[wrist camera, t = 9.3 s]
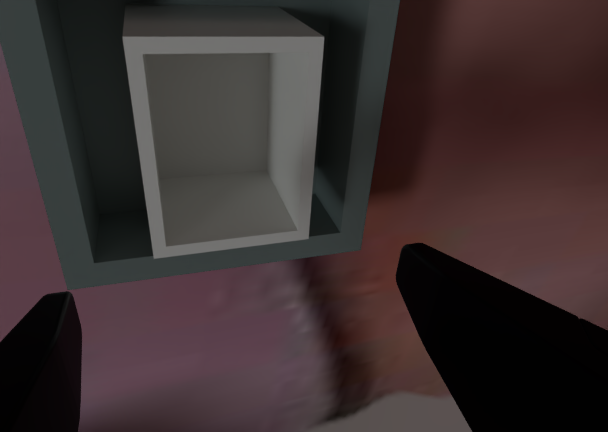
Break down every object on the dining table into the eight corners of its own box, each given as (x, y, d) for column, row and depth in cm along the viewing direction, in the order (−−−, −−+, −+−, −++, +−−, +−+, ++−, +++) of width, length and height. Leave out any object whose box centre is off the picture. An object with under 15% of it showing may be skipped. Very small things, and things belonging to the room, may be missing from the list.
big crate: (327, 201, 22) (360, 249, 19) (78, 227, 19) (67, 290, 16) (355, -65, 16) (409, -61, 13) (4, -90, 13) (-36, -92, 10)
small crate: (273, 172, 20) (308, 239, 16) (149, 183, 18) (153, 258, 14) (277, 6, 16) (324, 36, 12) (125, 3, 15) (122, 36, 11)
